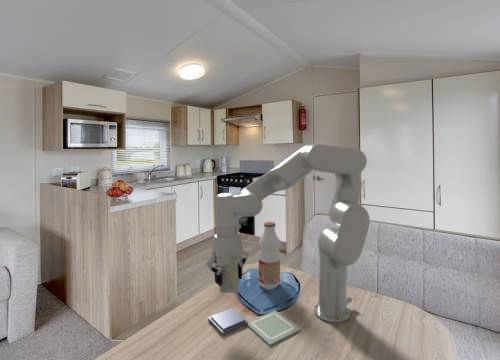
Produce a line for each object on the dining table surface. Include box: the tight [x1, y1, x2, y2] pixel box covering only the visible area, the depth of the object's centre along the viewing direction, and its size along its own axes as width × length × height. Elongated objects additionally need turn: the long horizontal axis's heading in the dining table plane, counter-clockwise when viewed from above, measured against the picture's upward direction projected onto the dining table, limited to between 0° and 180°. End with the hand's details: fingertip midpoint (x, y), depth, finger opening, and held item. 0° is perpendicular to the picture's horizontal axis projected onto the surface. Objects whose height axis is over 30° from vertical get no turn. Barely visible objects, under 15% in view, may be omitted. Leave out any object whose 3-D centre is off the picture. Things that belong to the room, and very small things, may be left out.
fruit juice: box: [258, 221, 281, 290], centre depth 123 cm, size 9×9×28 cm
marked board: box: [246, 310, 301, 347], centre depth 95 cm, size 13×13×1 cm
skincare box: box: [218, 257, 240, 294], centre depth 96 cm, size 6×4×12 cm
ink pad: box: [208, 307, 249, 337], centre depth 98 cm, size 10×10×2 cm
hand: (229, 280), depth 96 cm, fingers closed on skincare box, 7 cm apart
